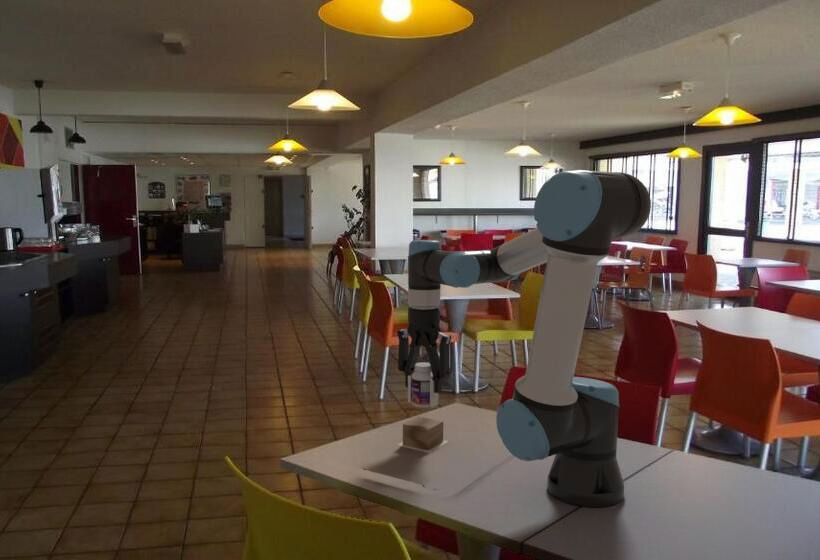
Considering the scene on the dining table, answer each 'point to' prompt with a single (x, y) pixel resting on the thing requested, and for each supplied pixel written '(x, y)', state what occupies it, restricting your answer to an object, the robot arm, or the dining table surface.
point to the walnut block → (423, 433)
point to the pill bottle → (421, 385)
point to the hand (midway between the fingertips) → (423, 403)
